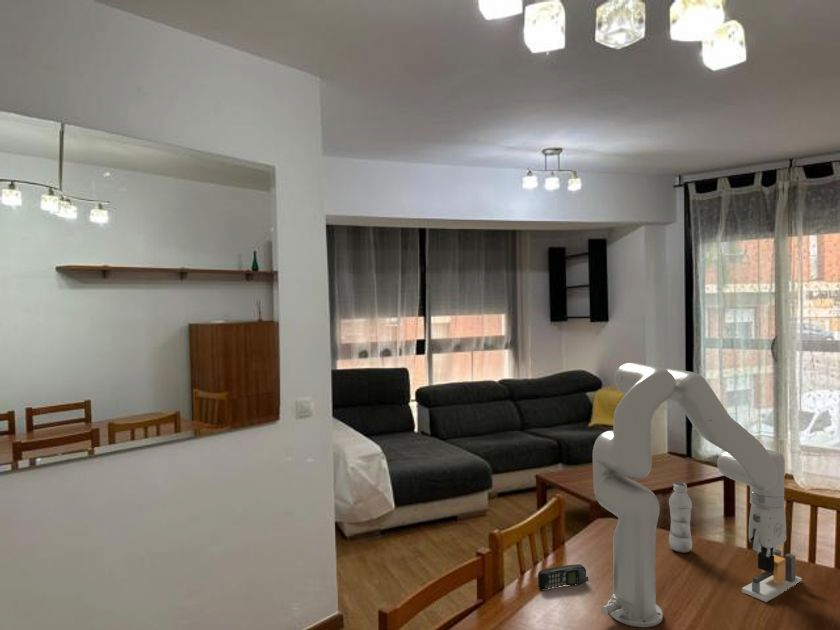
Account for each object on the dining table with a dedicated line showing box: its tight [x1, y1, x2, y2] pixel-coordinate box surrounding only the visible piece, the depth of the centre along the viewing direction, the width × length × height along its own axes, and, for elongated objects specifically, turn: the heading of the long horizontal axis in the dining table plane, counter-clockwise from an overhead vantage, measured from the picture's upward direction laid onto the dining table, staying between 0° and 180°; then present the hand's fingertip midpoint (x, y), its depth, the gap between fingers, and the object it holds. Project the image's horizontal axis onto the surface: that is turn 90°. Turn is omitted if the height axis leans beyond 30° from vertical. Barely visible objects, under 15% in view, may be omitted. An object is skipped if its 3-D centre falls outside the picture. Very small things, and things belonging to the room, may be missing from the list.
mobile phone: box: [537, 563, 589, 590], centre depth 152 cm, size 5×3×15 cm
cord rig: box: [741, 548, 802, 603], centre depth 149 cm, size 18×6×8 cm, turn 122°
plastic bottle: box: [668, 481, 693, 553], centre depth 171 cm, size 6×7×20 cm
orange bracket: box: [760, 555, 785, 584], centre depth 149 cm, size 4×4×6 cm
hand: (765, 569), depth 147 cm, fingers closed
